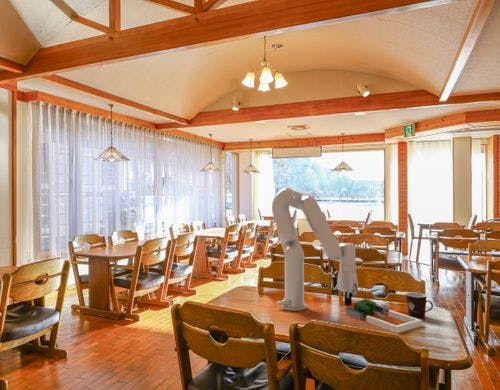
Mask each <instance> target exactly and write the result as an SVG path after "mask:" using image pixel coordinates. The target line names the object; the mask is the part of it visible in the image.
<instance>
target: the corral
mask: <svg viewBox="0 0 500 390" xmlns="http://www.w3.org/2000/svg"><path fill="white" fill-rule="evenodd" d="M387 311H388V317H390V318H393V319H396V320H399V321H400V322H401V321H403V323H400V324H397V325H396V324H393V323H390V322H388V321H385V320H382V319H380V318H377V317H374V316H370V315H368V316H365V321H366V323H369V324H371V325H373V326H376V327H379V328H382V329H385V330H387V331H389V332H392V333H395V334H399V333H404V332H407V331H411V330H414V329H417V328H420V327H423V319H417V318H414V317H411V316H409V315H406V314H404V313H401V312H398V311H394V310H391V309H390V310H387Z"/></svg>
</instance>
